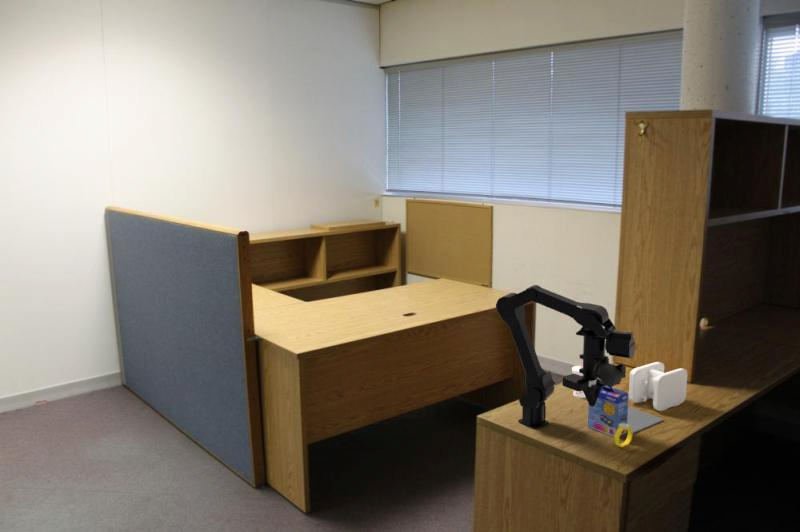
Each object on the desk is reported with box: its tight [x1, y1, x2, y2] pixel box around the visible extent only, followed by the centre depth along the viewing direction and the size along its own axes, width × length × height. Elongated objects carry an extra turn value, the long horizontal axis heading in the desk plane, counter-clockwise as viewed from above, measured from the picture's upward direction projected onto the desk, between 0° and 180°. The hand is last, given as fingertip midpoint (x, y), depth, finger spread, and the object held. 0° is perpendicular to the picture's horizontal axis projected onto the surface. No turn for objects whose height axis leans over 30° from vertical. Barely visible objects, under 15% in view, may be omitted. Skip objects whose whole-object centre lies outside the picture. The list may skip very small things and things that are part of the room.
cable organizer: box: [628, 361, 688, 412], centre depth 208 cm, size 15×11×12 cm
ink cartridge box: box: [587, 385, 629, 438], centre depth 190 cm, size 10×6×14 cm, turn 39°
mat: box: [627, 406, 665, 434], centre depth 197 cm, size 15×12×1 cm
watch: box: [614, 423, 634, 448], centre depth 181 cm, size 6×3×6 cm, turn 124°
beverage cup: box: [571, 359, 586, 399], centre depth 216 cm, size 6×6×14 cm
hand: (592, 406), depth 185 cm, fingers closed
